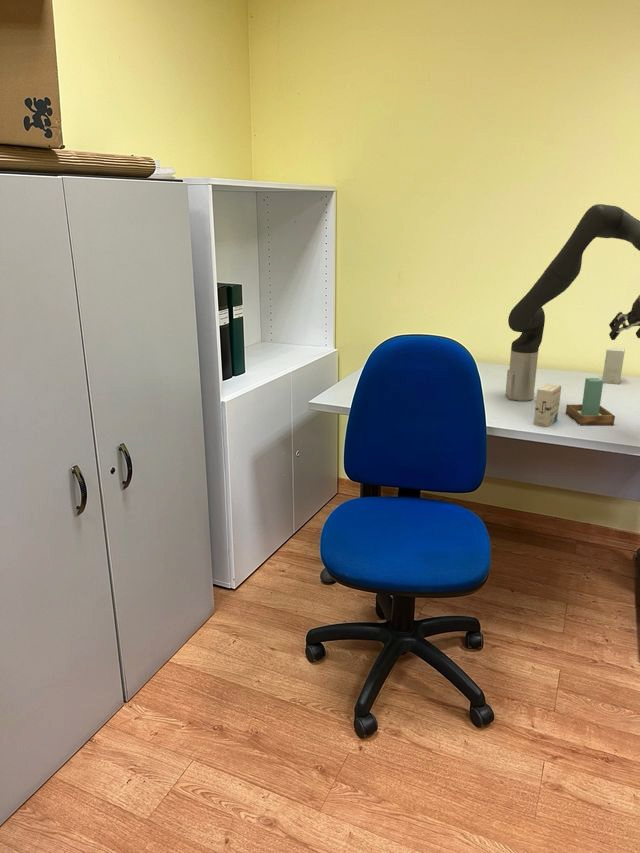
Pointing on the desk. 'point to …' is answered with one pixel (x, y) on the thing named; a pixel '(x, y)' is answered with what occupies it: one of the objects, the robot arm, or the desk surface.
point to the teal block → (592, 396)
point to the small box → (613, 365)
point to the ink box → (547, 404)
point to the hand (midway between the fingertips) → (624, 336)
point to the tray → (590, 416)
